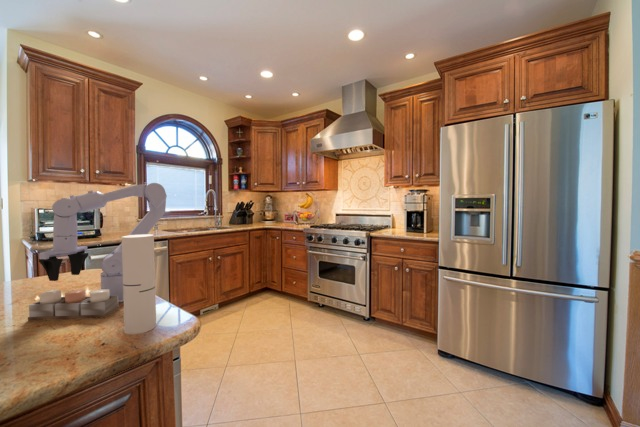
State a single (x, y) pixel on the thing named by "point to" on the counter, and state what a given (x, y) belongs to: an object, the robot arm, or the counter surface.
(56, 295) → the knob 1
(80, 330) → the counter surface
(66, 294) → the middle knob
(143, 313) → the cylindrical container
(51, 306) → the mount
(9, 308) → the counter surface
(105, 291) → the knob
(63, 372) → the counter surface
